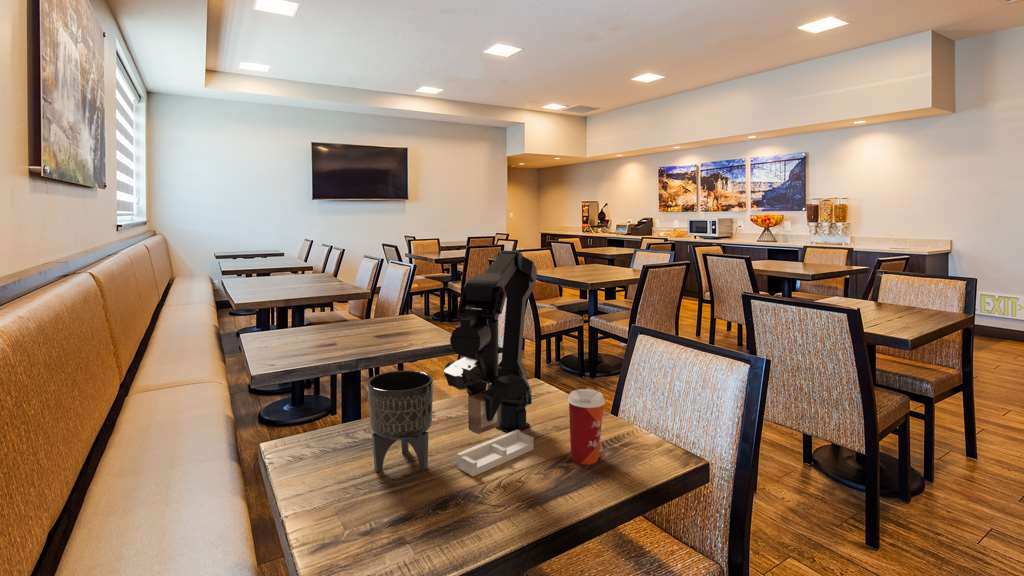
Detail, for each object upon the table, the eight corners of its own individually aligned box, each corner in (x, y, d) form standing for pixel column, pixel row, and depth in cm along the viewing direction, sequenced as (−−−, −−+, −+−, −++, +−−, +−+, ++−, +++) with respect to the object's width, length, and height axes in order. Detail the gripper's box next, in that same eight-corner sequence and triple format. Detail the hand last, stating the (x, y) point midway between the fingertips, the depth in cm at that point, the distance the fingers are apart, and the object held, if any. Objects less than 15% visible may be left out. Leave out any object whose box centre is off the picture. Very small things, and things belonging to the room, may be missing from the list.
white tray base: (457, 467, 109) (456, 453, 108) (517, 442, 120) (517, 429, 120) (473, 476, 105) (473, 462, 105) (533, 449, 117) (533, 436, 116)
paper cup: (602, 469, 108) (604, 402, 106) (564, 465, 110) (565, 399, 108) (603, 451, 116) (606, 389, 114) (568, 448, 118) (569, 386, 115)
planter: (446, 456, 113) (445, 375, 111) (410, 485, 102) (407, 395, 99) (396, 444, 119) (394, 367, 116) (356, 470, 107) (352, 385, 104)
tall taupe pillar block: (478, 434, 106) (478, 400, 104) (468, 429, 108) (468, 396, 107) (499, 426, 109) (499, 393, 108) (489, 421, 111) (489, 389, 110)
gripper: (421, 341, 107) (423, 416, 109) (484, 361, 94) (484, 446, 96) (465, 331, 114) (466, 402, 117) (529, 349, 101) (528, 428, 104)
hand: (484, 418), depth 108 cm, fingers closed on tall taupe pillar block, 3 cm apart
